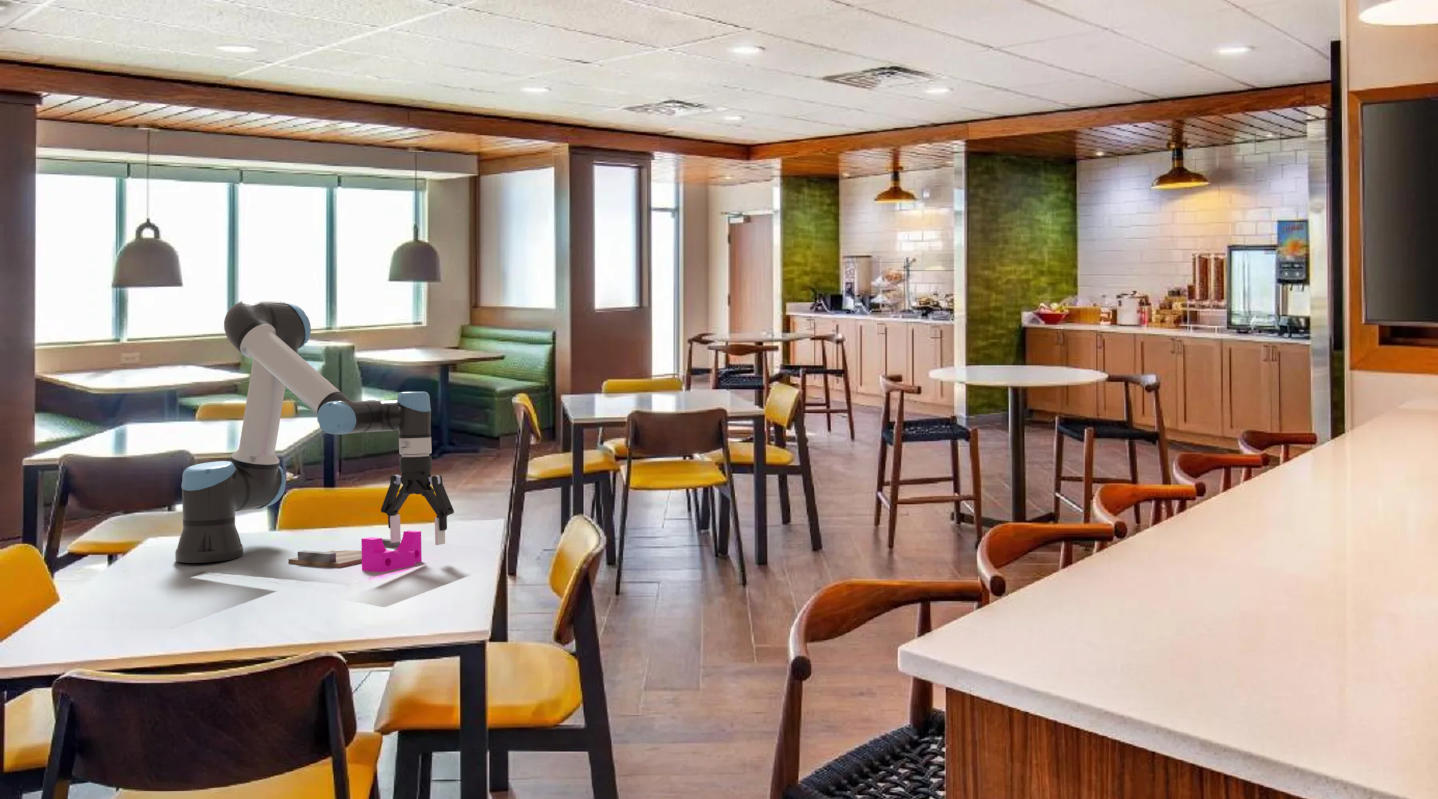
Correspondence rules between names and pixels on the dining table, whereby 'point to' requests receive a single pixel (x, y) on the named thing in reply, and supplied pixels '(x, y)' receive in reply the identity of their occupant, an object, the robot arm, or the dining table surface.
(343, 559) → the wooden serving tray
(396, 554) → the toy block
